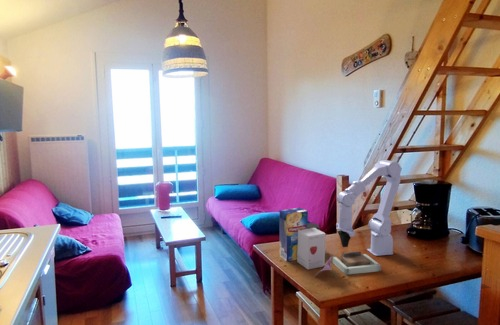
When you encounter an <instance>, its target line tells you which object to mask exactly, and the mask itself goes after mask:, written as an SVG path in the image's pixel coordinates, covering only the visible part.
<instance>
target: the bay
mask: <svg viewBox="0 0 500 325" xmlns="http://www.w3.org/2000/svg"><path fill="white" fill-rule="evenodd" d="M362 255H363V256H364V257H366V258H367V259H368V260H370V264H371V265H363V266H353V267H347V266H345V265H344V264H343V263H342V262H341V261H340V260H341V259H340V258H338V257H337V256H334V257H333V256H332V257H333V258H332V264H333V265H335V266H336V268H338V269H339V270H340V272H342V273H343V274H344V275H346V276H347V275H354V274H365V273H374V272H375V273H376V272H381V271H382V265H381V264H380V263H379V262H377V261H376V260H375V259H373V258H372V257H371V256H369V255H368V254H367V253H362Z"/></svg>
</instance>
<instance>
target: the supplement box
mask: <svg viewBox="0 0 500 325" xmlns="http://www.w3.org/2000/svg"><path fill="white" fill-rule="evenodd" d="M326 236H327V235H326V233H325V232H324V231H322V230H320V229H319V230H318V229H316V228H310V229H303V230H298V250H297V260H296V261H297V263H298V264H300V265H301V266H302V267H304V268H305V269H307V270H312V269H316V268H321V267H322V268H323V267H325V264H326V260H325V259H326ZM322 263H323V264H322ZM324 263H325V264H324Z"/></svg>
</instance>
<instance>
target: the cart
mask: <svg viewBox="0 0 500 325" xmlns="http://www.w3.org/2000/svg"><path fill="white" fill-rule="evenodd" d="M339 260H340V261H341V262H342V263H343V264H344V265H345V266H347V267H353V266H363V265H371V264H370V260H368V259H367V258H366V257H364V256H363V253H362V252H361V251H350V252H344V253H342V256H340V259H339Z"/></svg>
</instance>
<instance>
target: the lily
mask: <svg viewBox="0 0 500 325" xmlns="http://www.w3.org/2000/svg"><path fill="white" fill-rule="evenodd" d="M335 255H336V254H334V255H333V256H331V257H329V259H328V260H327V261H325V263H324V264H325V266H323V267H322V269H320V270H319V271H318V272H317V273H316V275H315V276H317V275H318V273H321V272H323V271H331V272H332V273H333V275H334V277H335V279H337V275H336V274H335V272H334V271H333V269H332V261H333V257H336V256H335ZM322 264H323V263H322Z"/></svg>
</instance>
